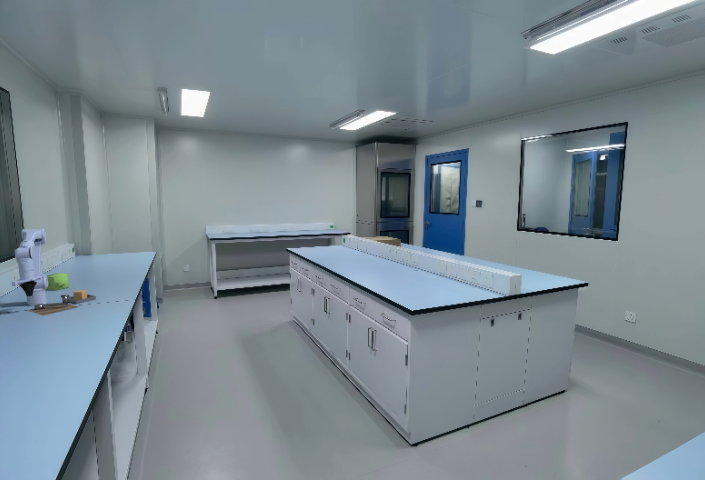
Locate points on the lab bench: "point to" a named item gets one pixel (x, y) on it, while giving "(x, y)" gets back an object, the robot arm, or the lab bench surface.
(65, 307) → the crank board
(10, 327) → the lab bench surface
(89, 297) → the tray
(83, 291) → the stop block
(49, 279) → the green rough block
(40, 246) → the robot arm
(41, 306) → the crank
